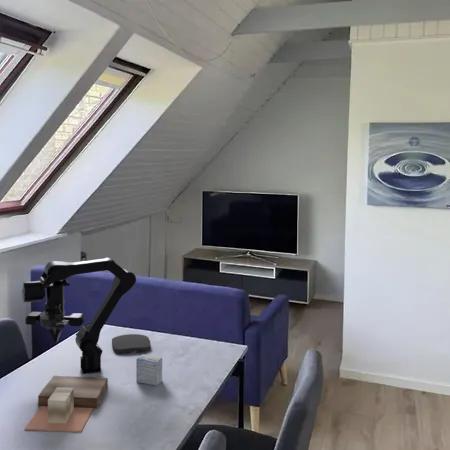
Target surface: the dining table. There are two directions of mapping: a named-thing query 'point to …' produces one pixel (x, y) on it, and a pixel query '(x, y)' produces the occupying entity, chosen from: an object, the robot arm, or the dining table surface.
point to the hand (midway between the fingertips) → (55, 342)
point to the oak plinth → (77, 390)
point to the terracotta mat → (72, 424)
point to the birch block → (60, 405)
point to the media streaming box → (131, 344)
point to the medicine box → (149, 369)
